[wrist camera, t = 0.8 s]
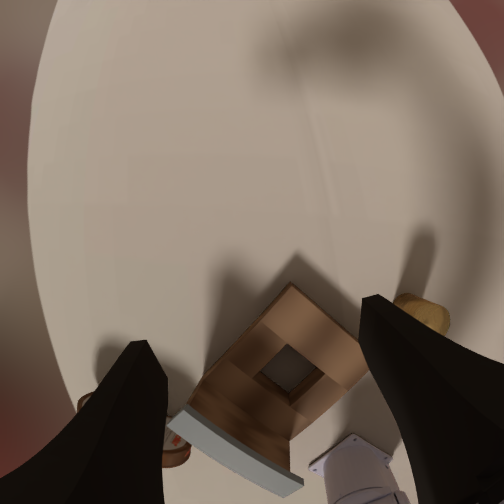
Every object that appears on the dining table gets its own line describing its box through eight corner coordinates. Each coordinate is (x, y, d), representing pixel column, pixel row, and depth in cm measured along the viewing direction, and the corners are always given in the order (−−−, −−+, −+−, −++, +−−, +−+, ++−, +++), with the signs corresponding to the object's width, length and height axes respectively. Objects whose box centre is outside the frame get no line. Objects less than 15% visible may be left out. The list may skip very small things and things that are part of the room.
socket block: (372, 352, 29) (410, 399, 18) (283, 435, 30) (283, 498, 19) (286, 278, 29) (291, 298, 18) (199, 373, 31) (166, 425, 20)
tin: (97, 397, 32) (63, 424, 24) (97, 379, 32) (61, 406, 24) (197, 439, 31) (179, 480, 23) (201, 422, 31) (182, 464, 23)
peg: (424, 306, 28) (455, 320, 21) (404, 330, 28) (432, 351, 21) (405, 286, 28) (436, 297, 21) (384, 312, 29) (411, 329, 22)
